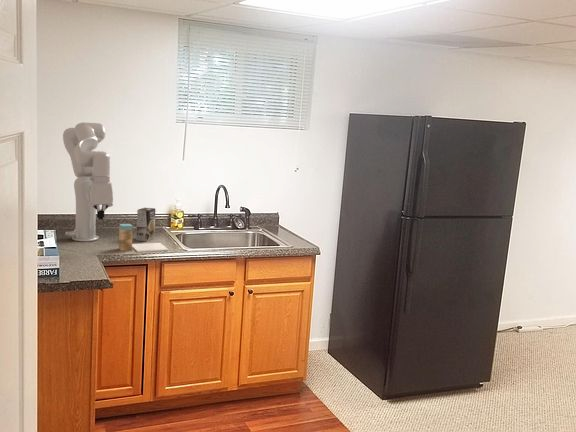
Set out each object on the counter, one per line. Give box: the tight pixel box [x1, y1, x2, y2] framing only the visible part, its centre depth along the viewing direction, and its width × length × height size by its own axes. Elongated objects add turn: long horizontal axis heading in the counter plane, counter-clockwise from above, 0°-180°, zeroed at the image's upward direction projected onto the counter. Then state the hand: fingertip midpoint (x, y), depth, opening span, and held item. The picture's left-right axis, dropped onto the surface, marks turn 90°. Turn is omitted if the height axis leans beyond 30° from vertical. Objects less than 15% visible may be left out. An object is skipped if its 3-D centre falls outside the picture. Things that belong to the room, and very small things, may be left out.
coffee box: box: [136, 207, 156, 242], centre depth 305 cm, size 9×6×16 cm
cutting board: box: [132, 242, 169, 253], centre depth 288 cm, size 15×14×1 cm
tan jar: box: [118, 223, 134, 252], centre depth 282 cm, size 5×5×12 cm
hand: (100, 219), depth 274 cm, fingers closed
